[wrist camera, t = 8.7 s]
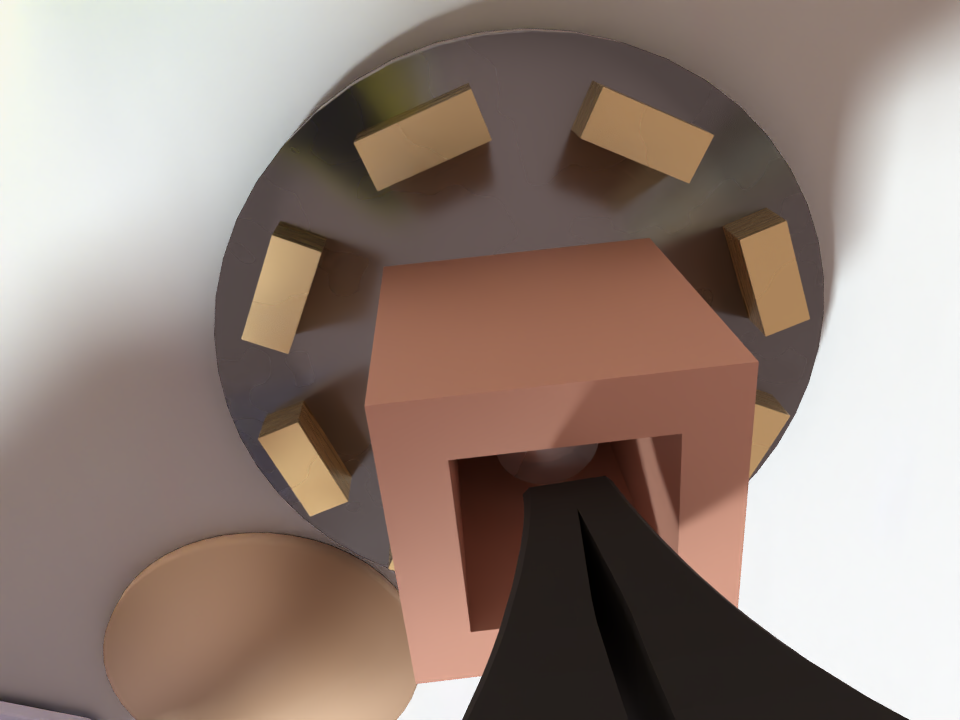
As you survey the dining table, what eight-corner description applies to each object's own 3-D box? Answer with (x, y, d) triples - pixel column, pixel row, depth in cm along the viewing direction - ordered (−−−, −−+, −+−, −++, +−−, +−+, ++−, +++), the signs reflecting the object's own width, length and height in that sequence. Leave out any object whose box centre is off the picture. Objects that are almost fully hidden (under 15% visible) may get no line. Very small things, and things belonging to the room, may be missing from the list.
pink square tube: (417, 485, 19) (416, 683, 14) (383, 266, 16) (364, 405, 11) (647, 459, 19) (734, 645, 14) (649, 237, 16) (758, 362, 11)
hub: (167, 486, 20) (101, 615, 16) (325, -95, 14) (287, -124, 10) (640, 612, 23) (687, 747, 19) (921, 176, 17) (1072, 235, 13)
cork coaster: (85, 721, 23) (78, 735, 23) (143, 495, 20) (137, 508, 19) (366, 775, 25) (365, 789, 25) (464, 579, 22) (465, 592, 21)
